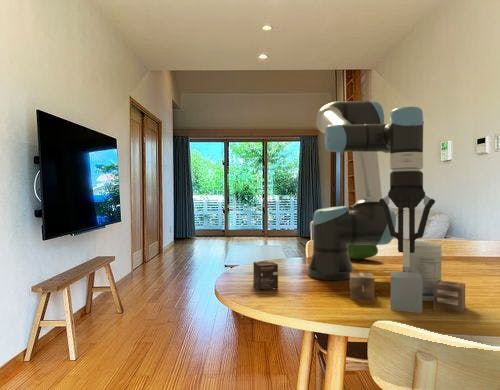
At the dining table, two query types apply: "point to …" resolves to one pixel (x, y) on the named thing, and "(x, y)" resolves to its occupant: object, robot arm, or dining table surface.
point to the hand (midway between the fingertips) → (406, 265)
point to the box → (265, 275)
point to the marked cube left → (362, 286)
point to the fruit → (362, 251)
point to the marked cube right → (449, 296)
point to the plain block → (406, 291)
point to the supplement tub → (426, 266)
